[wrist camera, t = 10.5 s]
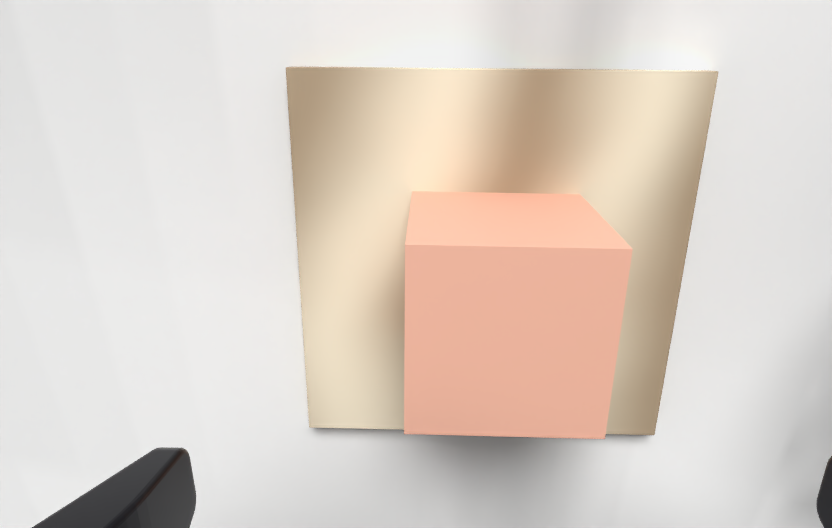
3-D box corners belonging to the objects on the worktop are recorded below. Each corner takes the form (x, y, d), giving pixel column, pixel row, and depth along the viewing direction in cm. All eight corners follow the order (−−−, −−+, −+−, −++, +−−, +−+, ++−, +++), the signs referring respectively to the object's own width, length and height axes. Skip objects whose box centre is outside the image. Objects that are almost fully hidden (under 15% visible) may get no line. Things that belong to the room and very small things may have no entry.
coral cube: (579, 194, 18) (632, 248, 13) (563, 343, 20) (604, 438, 15) (412, 191, 18) (405, 244, 13) (410, 340, 20) (404, 434, 15)
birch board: (709, 70, 17) (718, 71, 16) (648, 424, 21) (654, 435, 21) (290, 66, 17) (285, 67, 17) (312, 417, 22) (309, 427, 21)
